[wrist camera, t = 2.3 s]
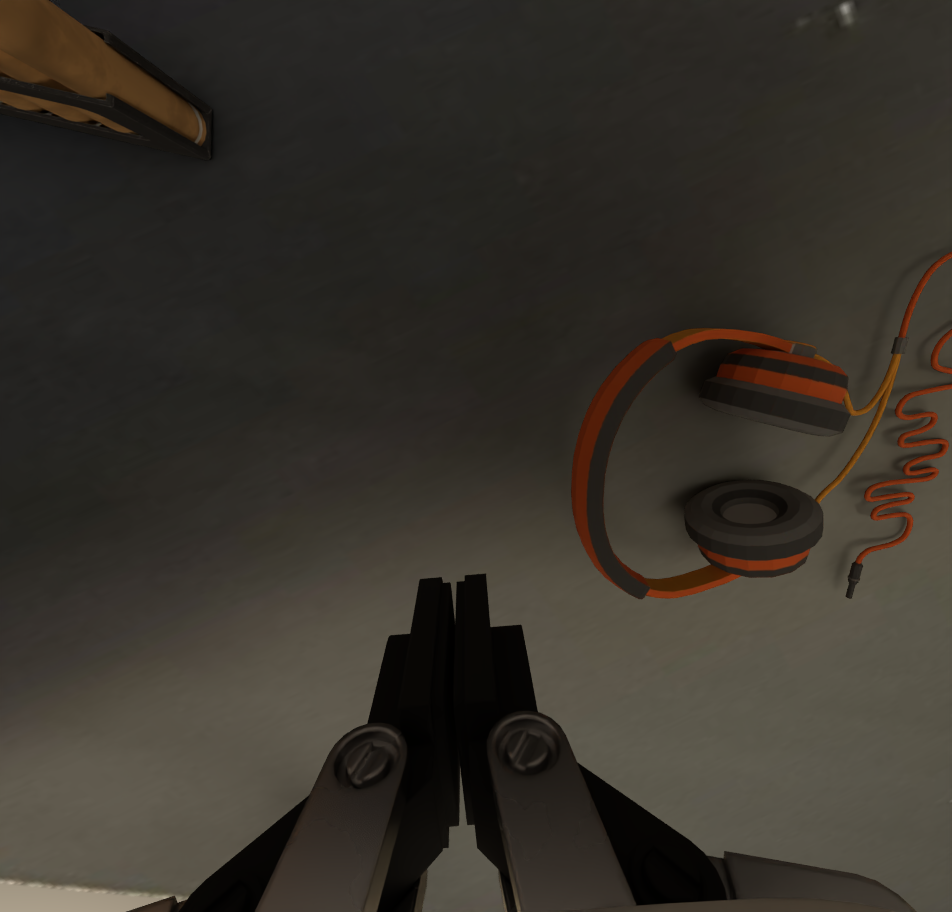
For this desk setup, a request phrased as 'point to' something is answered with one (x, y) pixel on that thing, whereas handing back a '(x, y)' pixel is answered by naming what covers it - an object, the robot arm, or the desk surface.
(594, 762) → the desk surface
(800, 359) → the headphones
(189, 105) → the ammunition clip
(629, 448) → the desk surface
